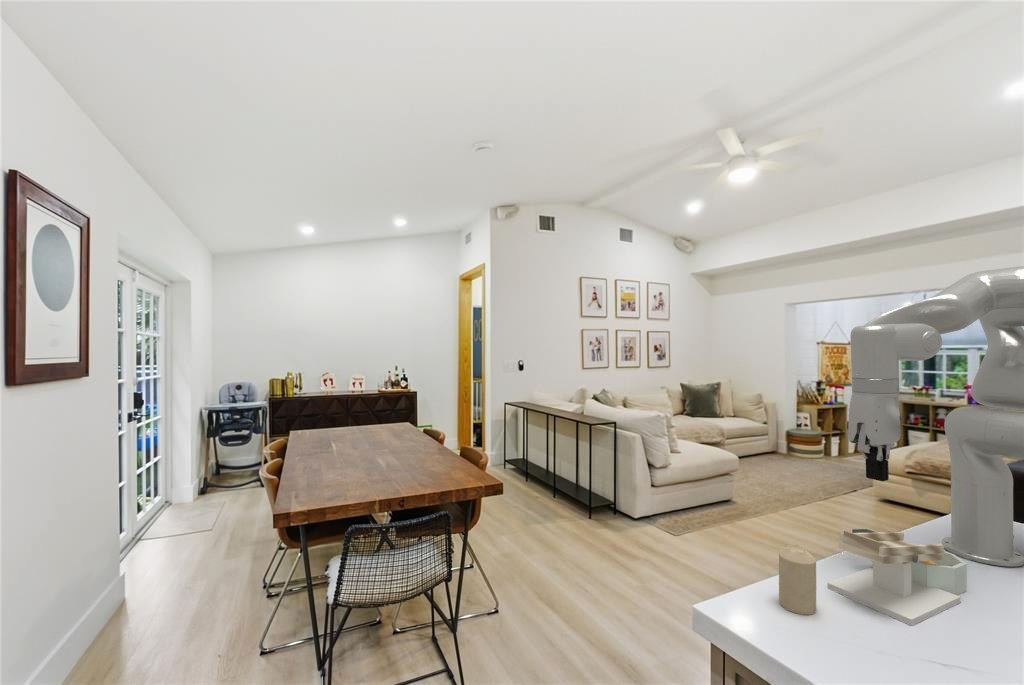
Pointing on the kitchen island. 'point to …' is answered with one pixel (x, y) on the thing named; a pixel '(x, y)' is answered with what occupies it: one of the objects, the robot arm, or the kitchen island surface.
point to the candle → (797, 580)
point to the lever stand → (894, 592)
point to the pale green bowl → (942, 574)
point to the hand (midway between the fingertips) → (877, 478)
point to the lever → (887, 547)
